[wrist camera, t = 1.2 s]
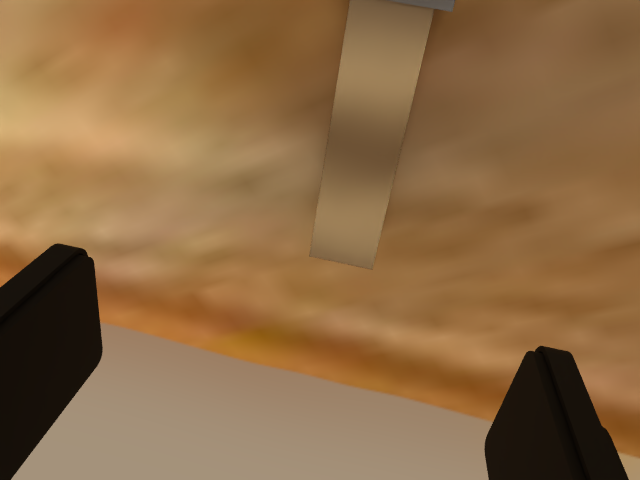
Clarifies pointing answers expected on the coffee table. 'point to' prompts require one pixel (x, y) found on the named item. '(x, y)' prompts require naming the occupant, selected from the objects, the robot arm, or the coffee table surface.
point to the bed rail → (369, 124)
